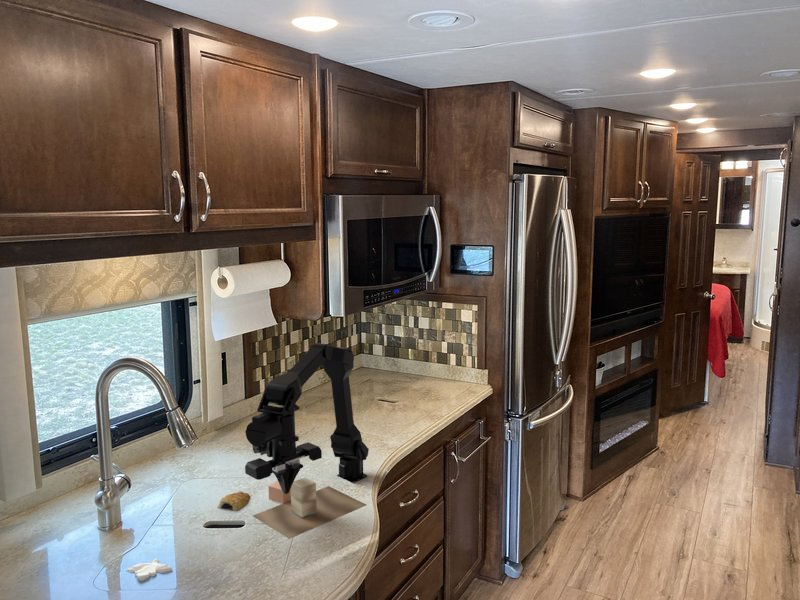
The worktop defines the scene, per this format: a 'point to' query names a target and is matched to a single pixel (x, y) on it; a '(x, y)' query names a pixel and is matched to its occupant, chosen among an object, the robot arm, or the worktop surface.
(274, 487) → the terracotta cube
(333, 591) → the worktop surface
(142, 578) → the acanthus leaf ornament
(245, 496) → the pastry
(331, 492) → the walnut board
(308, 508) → the maple block
